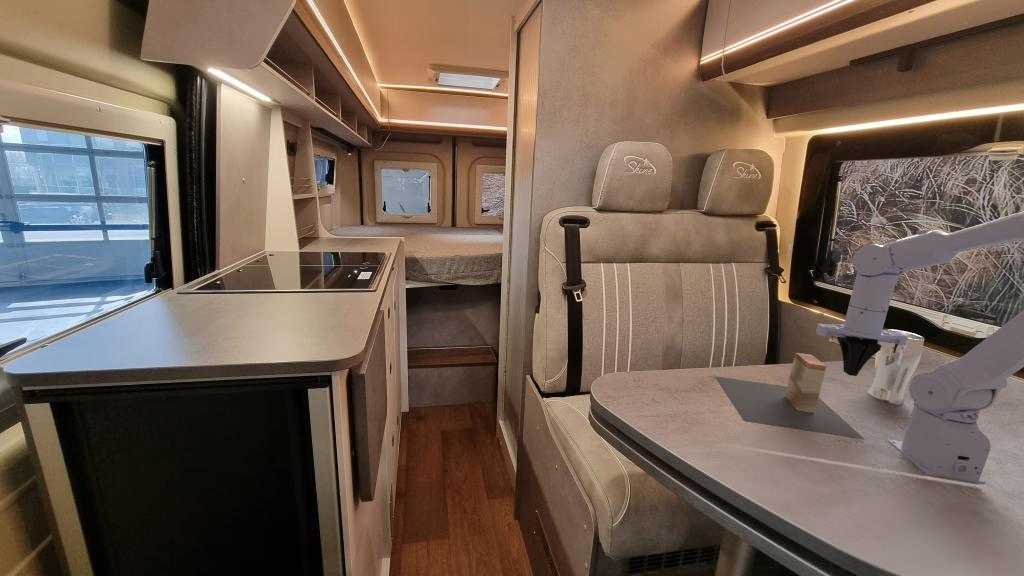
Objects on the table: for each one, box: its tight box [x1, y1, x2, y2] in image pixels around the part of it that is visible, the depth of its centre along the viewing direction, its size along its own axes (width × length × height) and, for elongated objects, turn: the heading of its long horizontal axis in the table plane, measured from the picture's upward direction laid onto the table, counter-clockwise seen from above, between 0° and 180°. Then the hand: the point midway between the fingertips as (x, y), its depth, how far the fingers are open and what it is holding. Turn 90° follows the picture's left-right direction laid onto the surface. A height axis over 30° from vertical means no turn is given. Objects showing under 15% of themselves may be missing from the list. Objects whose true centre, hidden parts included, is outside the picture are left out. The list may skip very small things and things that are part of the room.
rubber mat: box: [715, 376, 865, 440], centre depth 86 cm, size 20×20×1 cm
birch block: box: [785, 352, 827, 413], centre depth 85 cm, size 6×3×10 cm, turn 169°
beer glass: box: [867, 328, 925, 406], centre depth 91 cm, size 7×7×15 cm
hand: (849, 373), depth 83 cm, fingers closed
